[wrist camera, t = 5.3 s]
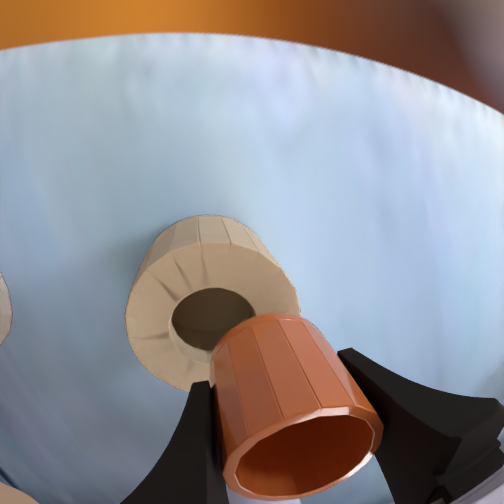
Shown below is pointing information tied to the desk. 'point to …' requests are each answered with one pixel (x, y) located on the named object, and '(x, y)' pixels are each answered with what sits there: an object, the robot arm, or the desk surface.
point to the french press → (4, 310)
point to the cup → (287, 410)
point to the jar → (200, 295)
